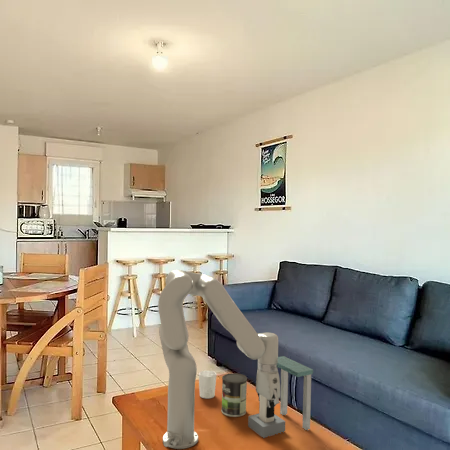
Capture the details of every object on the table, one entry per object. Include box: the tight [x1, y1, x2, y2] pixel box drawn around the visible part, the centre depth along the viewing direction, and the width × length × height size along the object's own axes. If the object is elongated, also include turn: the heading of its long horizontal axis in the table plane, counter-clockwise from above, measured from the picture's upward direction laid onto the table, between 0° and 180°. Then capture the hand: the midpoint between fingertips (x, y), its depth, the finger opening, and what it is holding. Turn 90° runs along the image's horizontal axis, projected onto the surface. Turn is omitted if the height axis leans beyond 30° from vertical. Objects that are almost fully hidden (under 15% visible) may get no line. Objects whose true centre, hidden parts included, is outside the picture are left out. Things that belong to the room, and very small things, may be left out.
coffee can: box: [221, 372, 248, 418], centre depth 177 cm, size 10×10×14 cm
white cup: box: [198, 369, 217, 399], centre depth 193 cm, size 8×8×10 cm
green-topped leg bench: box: [278, 355, 314, 431], centre depth 168 cm, size 8×18×23 cm, turn 30°
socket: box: [247, 413, 286, 439], centre depth 163 cm, size 10×10×4 cm
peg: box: [258, 395, 274, 423], centre depth 163 cm, size 4×4×10 cm
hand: (266, 414), depth 163 cm, fingers closed on peg, 4 cm apart
